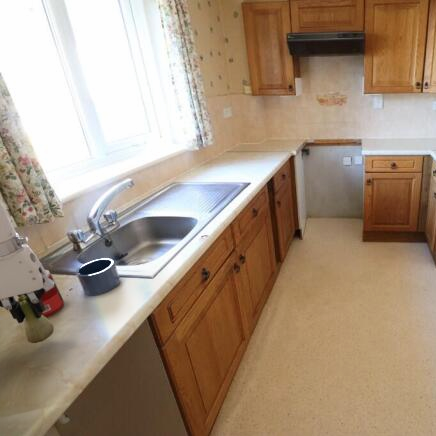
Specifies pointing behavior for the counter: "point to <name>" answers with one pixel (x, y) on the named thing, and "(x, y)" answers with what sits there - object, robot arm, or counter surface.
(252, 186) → the counter surface
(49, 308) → the canned food
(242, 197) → the counter surface
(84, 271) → the crock
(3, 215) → the robot arm
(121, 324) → the counter surface
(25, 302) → the fennel bulb
